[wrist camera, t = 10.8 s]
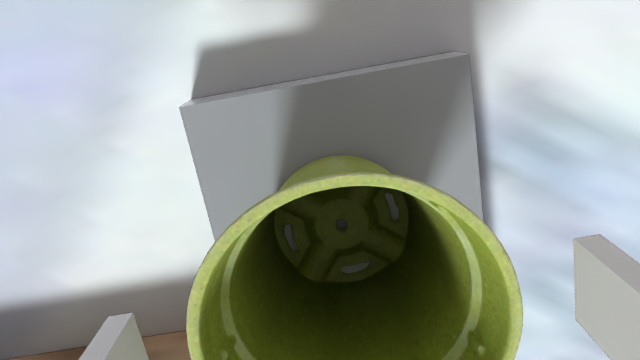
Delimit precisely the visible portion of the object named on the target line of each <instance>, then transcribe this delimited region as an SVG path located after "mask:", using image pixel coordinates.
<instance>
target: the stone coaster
mask: <svg viewBox="0 0 640 360" xmlns="http://www.w3.org/2000/svg"><path fill="white" fill-rule="evenodd" d="M179 108H180V112H181V116H182V120H183V123H184V127H185V131H186V135H187V138H188V142H189V146H190V150H191V153H192V157H193V161H194V165H195V168H196V172H197V176H198V180H199V183H200V187H201V191H202V194H203V198H204V202H205V206H206V209H207V213H208V217H209V221H210V224H211V228H212V232H213V236H214V239H215V241H216V240H217V239H218V238H219V236H220V235H221V234H222V233H223V232H224V230H225V229H226V228H227V227H228V226H229V225H230V224H231V223H232V222H234V221H235V220H236V219H237V218H238V217H239V216H240V215H241V214H243V213H244V212H245V211H246V210H248V209H249V208H250V207H252V206H254V205H255V204H257V203H258V202H260V201H261V200H263V199H264V198H266V197H267V196H269V195H271V194H273V193H275V192H277V191H279V190H280V189H281V187H282V186H283V184H284V183H285V182H286V181H287V180H288V179H289V177H290V176H291V175H292V174H294V173H295V172H296V171H297V170H299V169H300V168H301V167H303V166H305V165H306V164H308V163H310V162H312V161H315V160H317V159H320V158H323V157H328V156H334V155H350V156H357V157H361V158H364V159H367V160H370V161H372V162H374V163H376V164H378V165H380V166H382V167H383V168H385V169H386V170H387V171H389V172H390V173H391V174H396V175H400V176H404V177H408V178H412V179H415V180H418V181H421V182H424V183H426V184H429V185H431V186H434V187H436V188H438V189H440V190H442V191H443V192H445V193H447V194H449V195H451V196H452V197H454V198H456V199H457V200H458V201H460V202H461V203H463V204H464V205H465V206H466V207H468V208H469V209H470V210H471V211H473V212H474V213H475V214H476V215H477V216H478V217H479V218H480V219H482V220H483V211H482V200H481V188H480V176H479V164H478V153H477V141H476V129H475V118H474V106H473V94H472V82H471V71H470V59H469V54H466V53H462V52H457V51H454V52H448V53H443V54H437V55H432V56H426V57H421V58H416V59H410V60H405V61H399V62H394V63H388V64H383V65H377V66H372V67H367V68H361V69H356V70H350V71H345V72H339V73H334V74H328V75H323V76H317V77H312V78H307V79H301V80H296V81H290V82H285V83H279V84H274V85H268V86H263V87H257V88H252V89H247V90H241V91H236V92H230V93H225V94H219V95H214V96H208V97H203V98H198V99H192V100H190V101H188V102H186V103H185V104H183V105H182V106H180V107H179ZM385 198H386V200H387V202H388V206H389V208H390V214H391V220H393V221H396V220H397V219H398V215H399V212H398V208H397V206H396V205H395V202H394V199H393V196H392V195H391V194H388V193H386V194H385ZM336 227H337V228H338V229H339V230H345V229H346V227H347V224H346V221H345V220H339V221H337V223H336ZM284 231H285V236H286V238H287V240H288V243H289V245H290V247H291V248H292V249H293V250H296V251H298V250H299V248H298V246H297V244H296V241H295V239H294V236H293V232H292V228H291V225H290V224H288V225H286V226H285V229H284ZM369 263H371V262H370V261H367V262H366V263H360V264H357V265H352V266H345V267H343V268H342V269H341V270H342V272H344V273H353V272H357V271H360V270H362V269H364V268H365V267H367V266H368V265H369Z"/></svg>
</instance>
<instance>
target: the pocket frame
mask: <svg viewBox="0 0 640 360" xmlns="http://www.w3.org/2000/svg"><path fill="white" fill-rule="evenodd" d="M142 341H143V344H144V347H145V349H146V352H147V355H148V358H149V360H191V357H190V352H189V348H188V342H187V331H180V332H173V333H167V334H161V335H155V336H149V337H142ZM87 347H88V346H87ZM87 347H81V348H74V349H68V350H62V351H56V352H50V353H43V354H37V355H31V356H25V357H19V358H12V359H6V360H79V358H80V357H81V355H82V354H83V352H84V351H85V350H86V348H87Z"/></svg>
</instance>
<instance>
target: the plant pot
mask: <svg viewBox="0 0 640 360" xmlns="http://www.w3.org/2000/svg"><path fill="white" fill-rule="evenodd" d="M386 193H388V194H391V195H392V196H393V199H394V202H395V205H396V206H397V208H398V212H399V215H398V219H397V220H396V221H393V220H391V214H390V208H389V206H388V202H387V200H386V198H385V194H386ZM339 220H345V221H346V224H347V227H346V229H345V230H339V229H338V228H337V227H336V223H337V221H339ZM288 224H290V225H291V228H292V232H293V236H294V239H295V241H296V244H297V246H298V248H299V250H298V251H296V250H293V249H292V248H291V247H290V245H289V243H288V240H287V238H286V236H285V231H284V229H285V226H286V225H288ZM367 261H370V262H371V263H369V265H368V266H367V267H365V268H364V269H362V270H360V271H357V272H353V273H344V272H342V270H341V269H342V268H343V267H345V266H352V265H357V264H360V263H366V262H367ZM522 326H523V305H522V297H521V293H520V288H519V283H518V280H517V275H516V273H515V270H514V267H513V265H512V263H511V260H510V258H509V256H508V254H507V253H506V251H505V249H504V247H503V246H502V244H501V242H500V241H499V240H498V238H497V237H496V236H495V234H494V233H493V231H492V230H491V229H490V228H489V227H488V226H487V225H486V223H485V222H484V221H483V220H482V219H480V218H479V217H478V216H477V215H476V214H475V213H474V212H473V211H471V210H470V209H469V208H468V207H466V206H465V205H464V204H463V203H461V202H460V201H458V200H457V199H456V198H454V197H452V196H451V195H449V194H447V193H445V192H443V191H442V190H440V189H438V188H436V187H434V186H431V185H429V184H426V183H424V182H421V181H418V180H415V179H412V178H408V177H404V176H400V175H396V174H391V173H390V172H389V171H387V170H386V169H385V168H383V167H382V166H380V165H378V164H376V163H374V162H372V161H370V160H367V159H364V158H361V157H357V156H350V155H334V156H328V157H323V158H320V159H317V160H315V161H312V162H310V163H308V164H306V165H305V166H303V167H301V168H300V169H299V170H297V171H296V172H295V173H294V174H292V175H291V176H290V177H289V179H288V180H287V181H286V182H285V183H284V184H283V186H282V187H281V189H280V190H279V191H277V192H275V193H273V194H271V195H269V196H267V197H266V198H264V199H263V200H261V201H260V202H258V203H257V204H255V205H254V206H252V207H250V208H249V209H248V210H246V211H245V212H244V213H243V214H241V215H240V216H239V217H238V218H237V219H236V220H235V221H234V222H232V223H231V224H230V225H229V226H228V227H227V228H226V229H225V230H224V232H223V233H222V234H221V235H220V236H219V238H218V239H217V240H216V241H215V243H214V244H213V246H212V247H211V248H210V250H209V251H208V253H207V255H206V257H205V258H204V260H203V262H202V264H201V266H200V268H199V270H198V272H197V275H196V277H195V279H194V282H193V285H192V288H191V292H190V296H189V300H188V306H187V319H186V331H187V342H188V348H189V352H190V357H191V360H514V359H515V355H516V352H517V349H518V346H519V342H520V338H521V333H522Z"/></svg>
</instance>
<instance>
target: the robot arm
mask: <svg viewBox="0 0 640 360" xmlns="http://www.w3.org/2000/svg"><path fill="white" fill-rule="evenodd" d="M573 245H574V282H575V319H576V321H577V322H578V323H579V325H580V326H581V327H582V328H583V329H584V330H585V331H586V332H587V334H588V335H589V336H590V337H591V338H592V339H593V340H594V342H595V343H596V344H597V345H598V346H599V347H600V348H601V349H602V351H603V352H604V353H605V354H606V355H607V356H608V357H609V359H610V360H640V263H638V262H637V261H636V260H634V259H633V258H632V257H630V256H629V255H628V254H626V253H625V252H623V251H622V250H621V249H619V248H618V247H617V246H615V245H614V244H613V243H611V242H610V241H609V240H607V239H606V238H605V237H603V236H602V235H600V234H598V235H592V236H586V237H580V238H574V239H573ZM79 360H149V358H148V355H147V352H146V349H145V347H144V344H143V341H142V338H141V335H140V332H139V329H138V326H137V323H136V320H135V317H134V314H133V313H127V314H121V315H115V316H109V317H108V318H107V319H106V321H105V322H104V323H103V325H102V326H101V328H100V329H99V331H98V332H97V334H96V335H95V337H94V338H93V339H92V341H91V342H90V344H89V345H88V347H87V348H86V350H85V351H84V352H83V354H82V355H81V357H80V358H79Z"/></svg>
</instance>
